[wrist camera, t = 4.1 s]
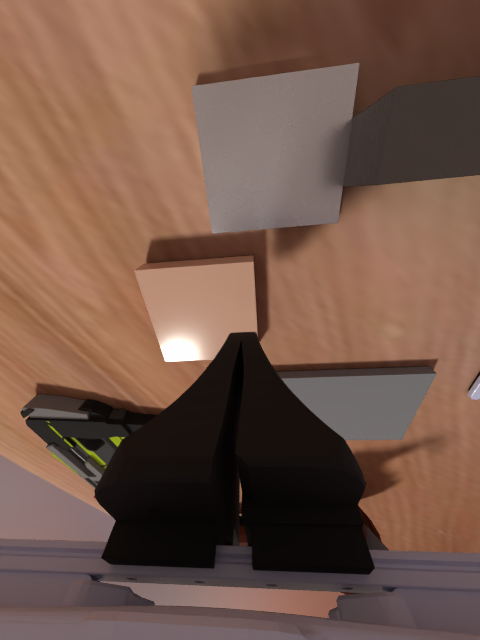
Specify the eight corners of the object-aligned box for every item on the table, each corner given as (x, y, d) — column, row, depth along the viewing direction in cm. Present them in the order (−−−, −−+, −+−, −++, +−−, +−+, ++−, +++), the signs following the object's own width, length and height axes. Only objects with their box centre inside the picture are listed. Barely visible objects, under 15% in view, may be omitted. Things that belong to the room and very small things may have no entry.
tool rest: (429, 366, 17) (436, 373, 17) (397, 431, 22) (402, 439, 21) (210, 374, 19) (209, 380, 18) (223, 434, 23) (222, 441, 23)
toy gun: (229, 502, 25) (118, 523, 27) (230, 464, 29) (132, 485, 31) (144, 381, 17) (-8, 424, 19) (161, 350, 21) (32, 389, 23)
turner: (559, 41, 9) (763, -58, 5) (485, 208, 12) (583, 215, 8) (194, 91, 10) (164, 38, 6) (213, 231, 13) (200, 246, 9)
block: (253, 261, 12) (134, 270, 13) (258, 357, 16) (165, 361, 16) (253, 254, 13) (145, 262, 14) (258, 344, 17) (172, 347, 18)
